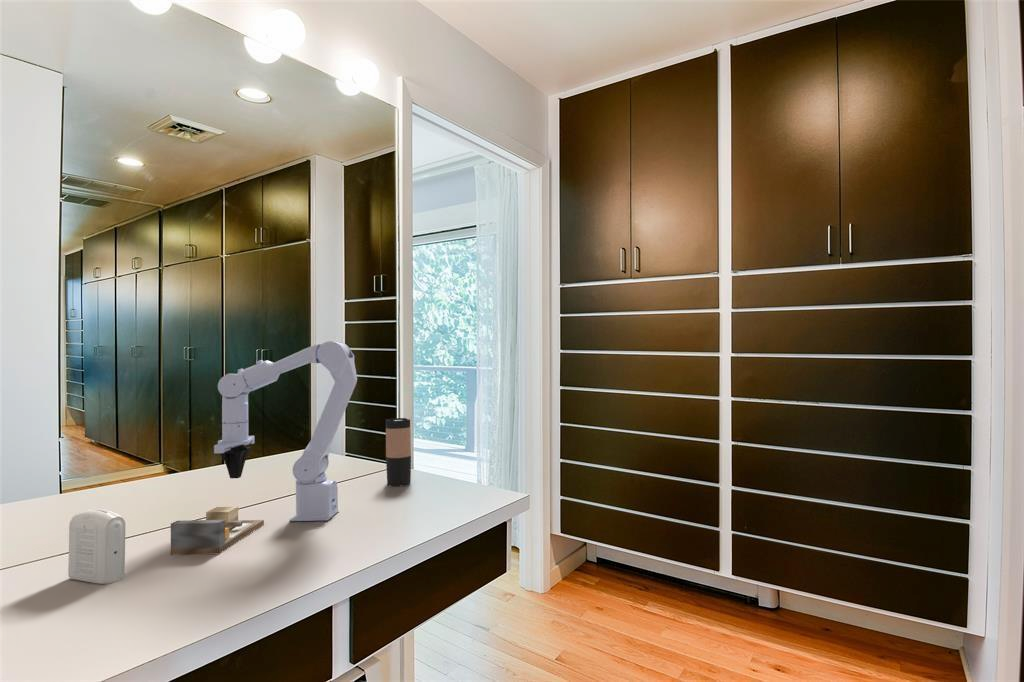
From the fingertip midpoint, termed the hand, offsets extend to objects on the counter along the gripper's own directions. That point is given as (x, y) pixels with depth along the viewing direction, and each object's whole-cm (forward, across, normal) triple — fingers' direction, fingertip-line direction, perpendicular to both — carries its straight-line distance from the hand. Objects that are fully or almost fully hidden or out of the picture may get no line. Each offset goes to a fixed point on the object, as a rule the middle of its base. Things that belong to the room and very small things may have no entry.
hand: (235, 477), depth 126 cm
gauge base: (+10, +13, +4) cm, 17 cm away
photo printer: (+11, +33, -7) cm, 35 cm away
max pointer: (+9, +18, +7) cm, 21 cm away
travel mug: (+11, -35, +32) cm, 49 cm away
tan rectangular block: (+9, +10, +4) cm, 14 cm away
